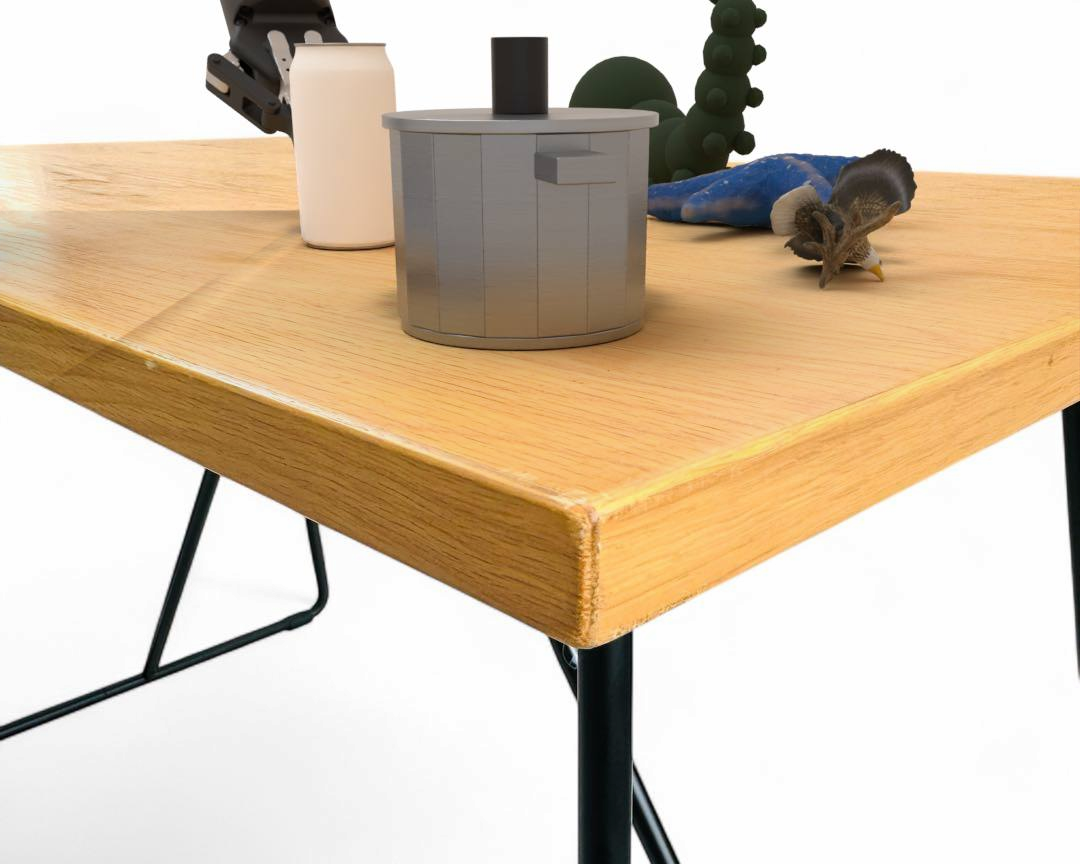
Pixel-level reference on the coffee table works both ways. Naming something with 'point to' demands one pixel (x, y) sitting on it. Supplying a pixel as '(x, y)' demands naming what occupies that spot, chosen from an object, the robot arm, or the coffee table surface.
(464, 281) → the pot
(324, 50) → the can
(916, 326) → the coffee table surface
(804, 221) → the eagle figurine
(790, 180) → the starfish
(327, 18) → the robot arm
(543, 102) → the pot lid
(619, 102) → the toy figurine
